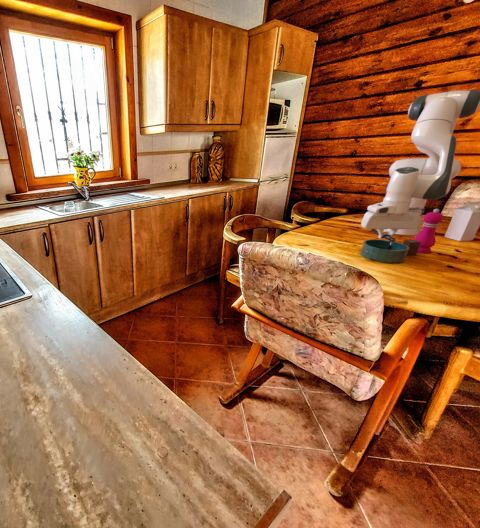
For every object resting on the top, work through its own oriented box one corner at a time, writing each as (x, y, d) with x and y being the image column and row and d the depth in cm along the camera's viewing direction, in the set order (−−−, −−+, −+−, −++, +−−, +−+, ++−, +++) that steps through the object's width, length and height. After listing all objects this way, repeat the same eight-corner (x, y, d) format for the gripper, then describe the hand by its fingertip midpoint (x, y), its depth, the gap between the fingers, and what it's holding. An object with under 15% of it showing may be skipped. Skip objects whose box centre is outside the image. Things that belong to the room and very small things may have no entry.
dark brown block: (399, 252, 130) (404, 239, 127) (409, 252, 129) (414, 239, 126) (405, 255, 126) (410, 242, 123) (415, 255, 125) (421, 242, 123)
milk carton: (443, 237, 145) (459, 200, 137) (456, 236, 145) (472, 200, 138) (459, 241, 138) (476, 203, 131) (472, 240, 139) (490, 202, 131)
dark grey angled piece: (361, 244, 136) (366, 228, 133) (372, 244, 135) (378, 228, 132) (384, 257, 120) (390, 239, 117) (397, 257, 120) (404, 239, 116)
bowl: (353, 251, 134) (356, 239, 132) (389, 251, 131) (393, 239, 129) (372, 263, 120) (377, 250, 118) (413, 264, 117) (418, 251, 115)
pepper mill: (422, 248, 133) (438, 206, 125) (435, 253, 126) (454, 210, 118) (405, 248, 134) (420, 207, 126) (418, 253, 127) (435, 210, 119)
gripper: (417, 205, 120) (406, 236, 125) (363, 206, 123) (355, 235, 129) (429, 208, 114) (416, 240, 119) (372, 209, 118) (363, 240, 123)
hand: (384, 238), depth 124 cm, fingers closed on dark grey angled piece
